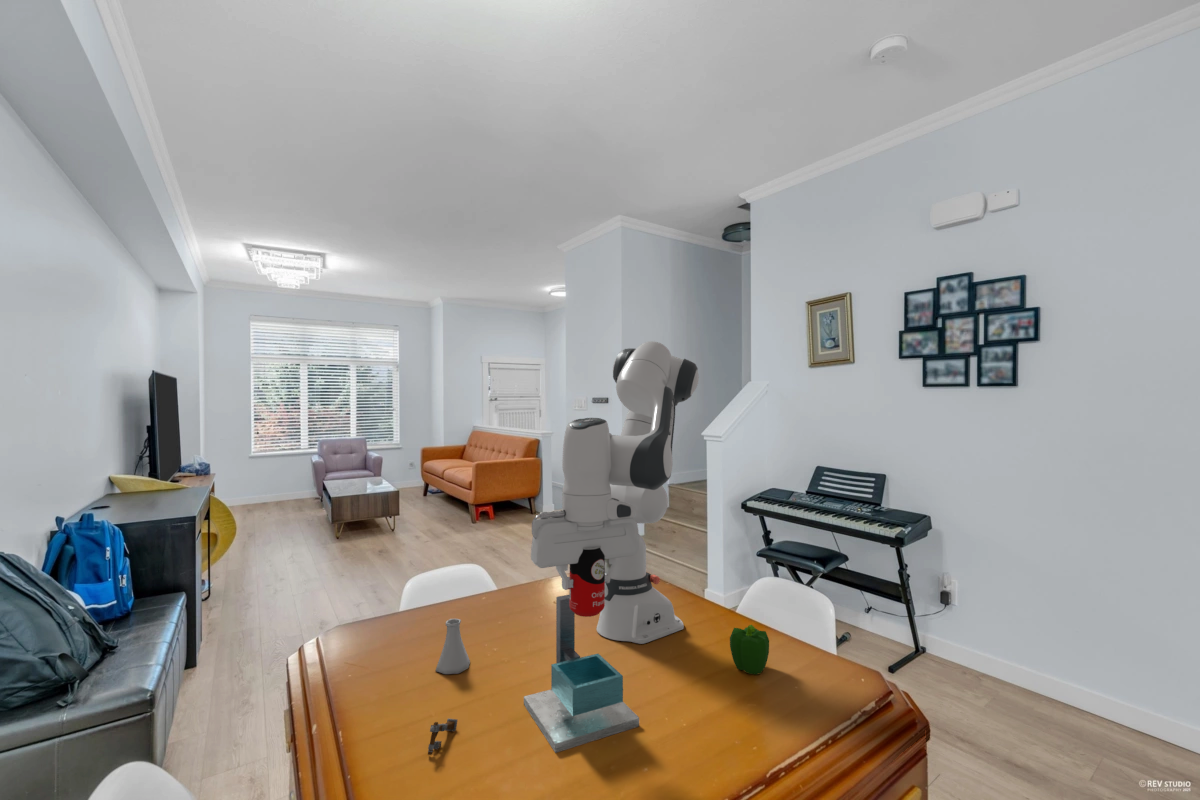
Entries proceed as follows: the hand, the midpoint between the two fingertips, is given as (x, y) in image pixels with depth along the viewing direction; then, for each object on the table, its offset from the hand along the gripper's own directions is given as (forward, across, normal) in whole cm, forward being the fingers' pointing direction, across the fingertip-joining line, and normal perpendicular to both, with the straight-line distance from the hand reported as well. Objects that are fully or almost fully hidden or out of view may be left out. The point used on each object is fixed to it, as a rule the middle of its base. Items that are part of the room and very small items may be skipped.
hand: (586, 585), depth 95 cm
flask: (+25, -17, +32) cm, 44 cm away
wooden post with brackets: (+25, -24, +6) cm, 35 cm away
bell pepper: (+24, +40, +2) cm, 47 cm away
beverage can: (+5, 0, 0) cm, 5 cm away
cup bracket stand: (+25, 0, +3) cm, 25 cm away
